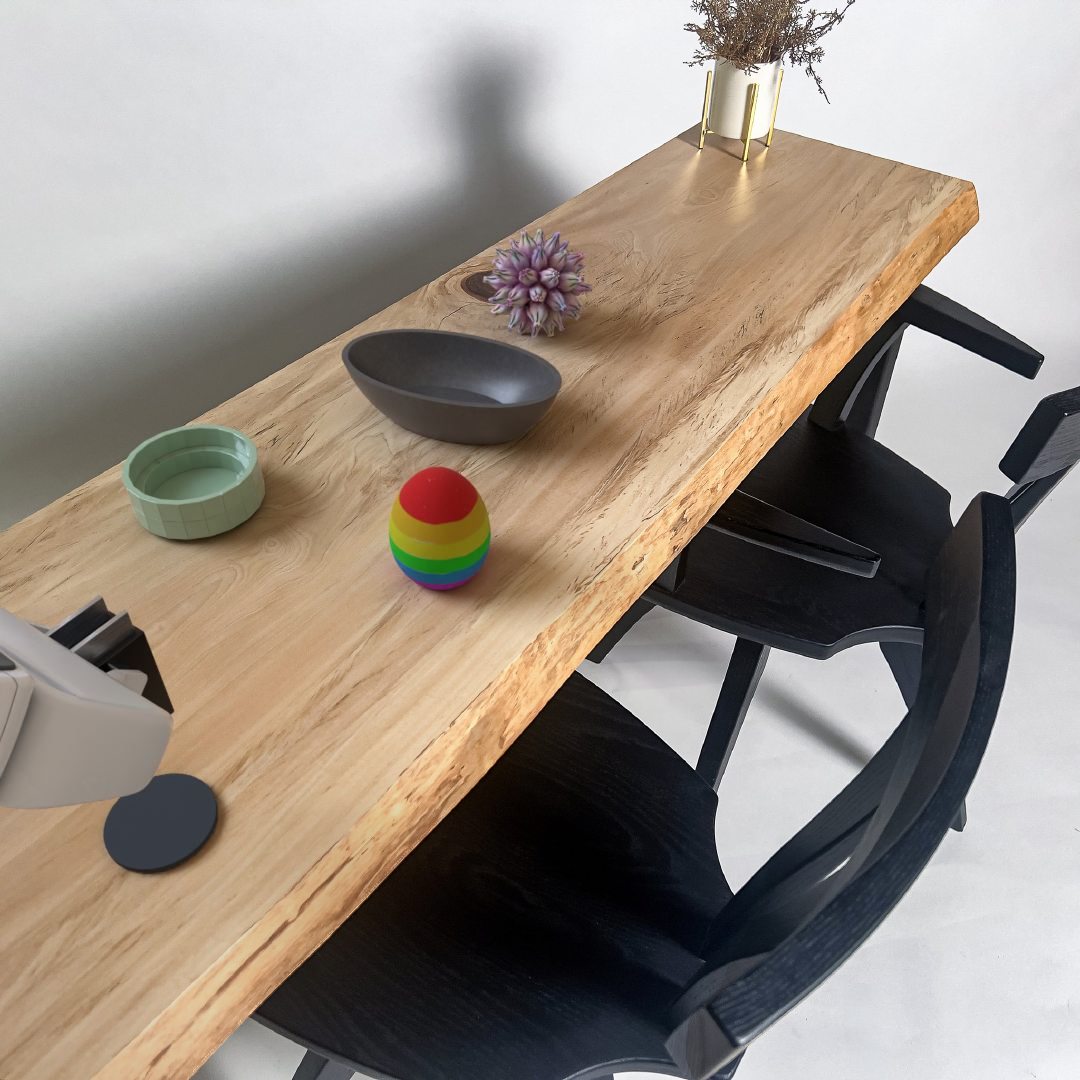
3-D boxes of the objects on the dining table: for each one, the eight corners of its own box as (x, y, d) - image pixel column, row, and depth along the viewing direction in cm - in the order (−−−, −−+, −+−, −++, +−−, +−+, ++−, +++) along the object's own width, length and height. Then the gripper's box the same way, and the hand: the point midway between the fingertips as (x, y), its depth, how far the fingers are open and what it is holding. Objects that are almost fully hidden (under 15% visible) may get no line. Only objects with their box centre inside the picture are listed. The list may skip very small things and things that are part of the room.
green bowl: (185, 563, 80) (173, 522, 77) (110, 506, 86) (95, 466, 83) (292, 498, 87) (284, 458, 84) (215, 448, 92) (205, 409, 89)
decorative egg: (372, 569, 80) (359, 474, 74) (443, 522, 85) (437, 428, 78) (440, 618, 76) (434, 522, 70) (511, 566, 81) (511, 471, 74)
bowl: (538, 478, 90) (539, 423, 85) (325, 430, 95) (316, 376, 90) (576, 408, 98) (579, 355, 94) (379, 368, 103) (373, 315, 99)
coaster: (146, 895, 59) (144, 891, 59) (83, 828, 62) (81, 824, 62) (240, 818, 63) (239, 813, 63) (176, 759, 66) (174, 754, 66)
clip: (105, 771, 54) (56, 671, 48) (71, 747, 55) (18, 646, 49) (175, 711, 57) (136, 610, 51) (141, 689, 58) (99, 588, 53)
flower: (585, 322, 114) (590, 356, 104) (483, 316, 114) (478, 350, 103) (594, 221, 108) (600, 247, 98) (486, 215, 108) (482, 240, 98)
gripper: (-302, 631, 45) (-29, 641, 57) (-32, 851, 37) (216, 806, 49) (-251, 505, 45) (11, 543, 57) (31, 698, 36) (263, 693, 49)
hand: (108, 666), depth 53 cm, fingers closed on clip, 3 cm apart
